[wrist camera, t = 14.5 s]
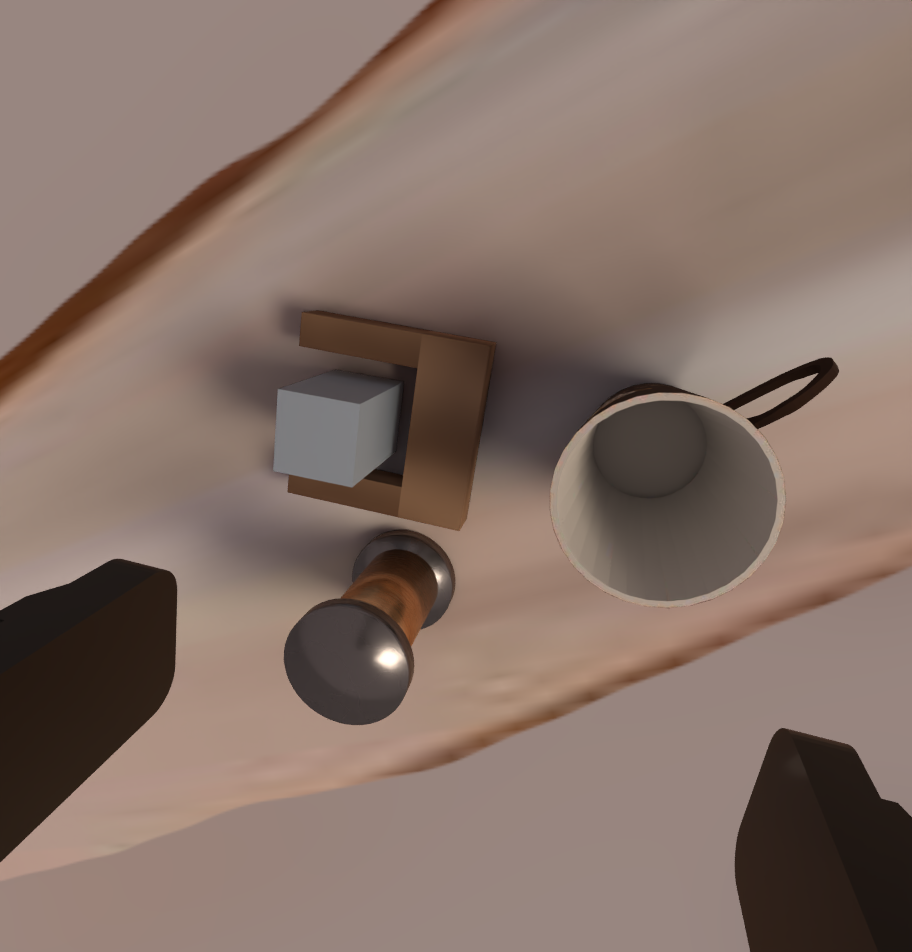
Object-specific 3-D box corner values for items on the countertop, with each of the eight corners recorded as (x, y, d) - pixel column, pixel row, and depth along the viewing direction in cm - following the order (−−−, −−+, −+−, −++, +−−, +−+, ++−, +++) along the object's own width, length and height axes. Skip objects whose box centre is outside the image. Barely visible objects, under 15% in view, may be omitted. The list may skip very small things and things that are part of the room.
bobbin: (363, 520, 40) (288, 594, 31) (462, 542, 39) (416, 626, 30) (353, 609, 42) (279, 705, 32) (447, 633, 41) (399, 739, 31)
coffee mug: (583, 534, 37) (575, 621, 28) (548, 382, 35) (527, 420, 26) (812, 496, 34) (890, 578, 25) (788, 327, 32) (862, 347, 23)
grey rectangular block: (335, 369, 38) (277, 389, 31) (404, 381, 37) (360, 404, 31) (329, 438, 39) (273, 471, 32) (396, 451, 38) (352, 487, 32)
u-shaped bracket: (317, 310, 37) (301, 312, 35) (496, 342, 35) (489, 345, 34) (302, 482, 40) (287, 492, 38) (466, 518, 39) (459, 531, 37)
